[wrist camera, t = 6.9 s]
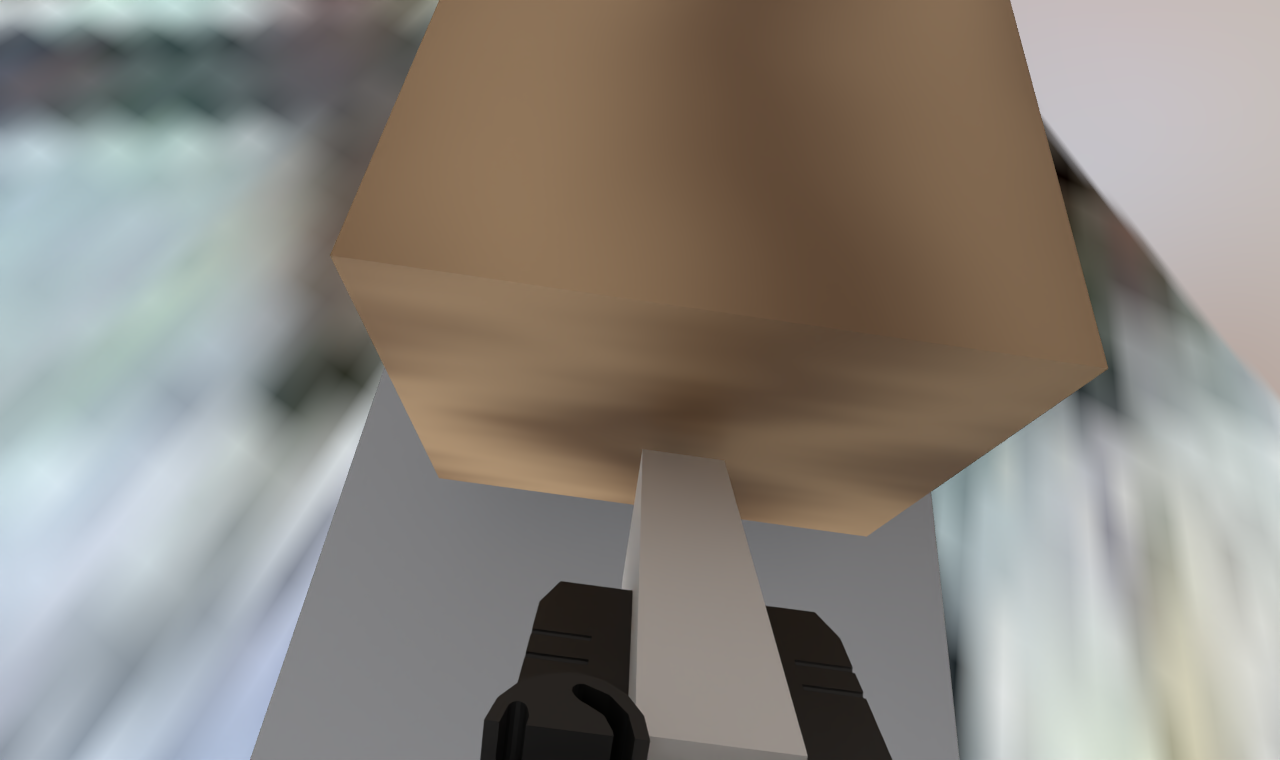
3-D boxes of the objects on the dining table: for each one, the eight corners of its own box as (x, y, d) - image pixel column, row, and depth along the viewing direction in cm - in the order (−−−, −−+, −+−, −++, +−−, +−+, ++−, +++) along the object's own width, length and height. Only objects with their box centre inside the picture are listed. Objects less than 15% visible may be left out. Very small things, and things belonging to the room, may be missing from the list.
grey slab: (243, 860, 15) (42, 932, 9) (471, 158, 26) (444, -9, 20) (945, 943, 15) (1168, 1062, 10) (882, 220, 26) (970, 74, 20)
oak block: (389, 501, 17) (192, 235, 8) (490, 170, 23) (439, -200, 14) (894, 569, 18) (1235, 386, 9) (868, 227, 24) (1056, -97, 14)
